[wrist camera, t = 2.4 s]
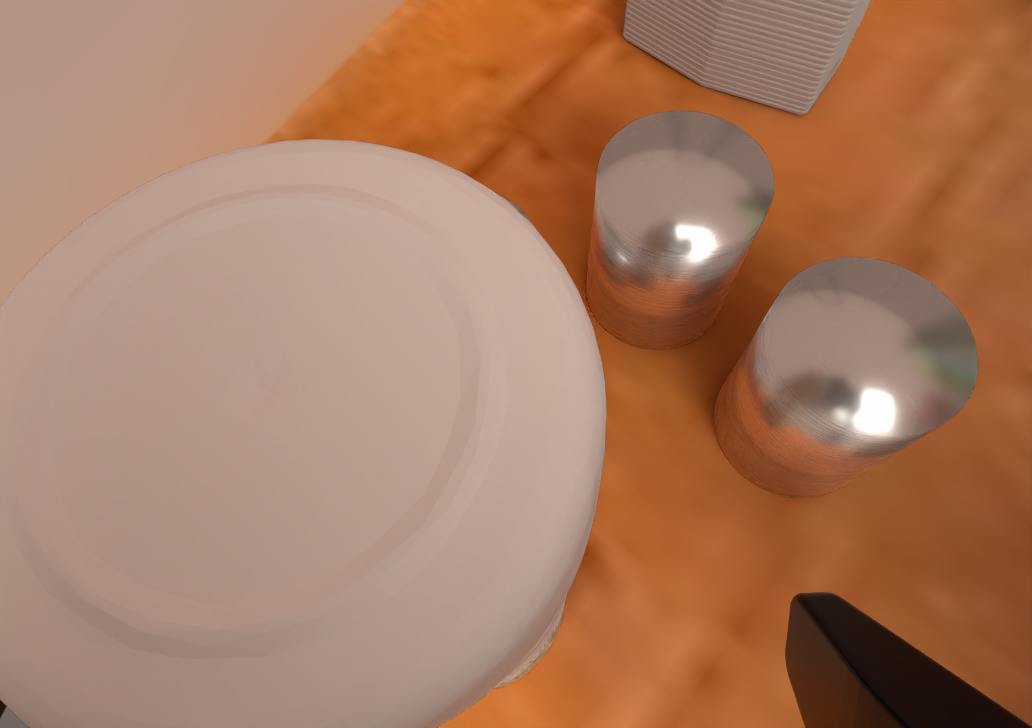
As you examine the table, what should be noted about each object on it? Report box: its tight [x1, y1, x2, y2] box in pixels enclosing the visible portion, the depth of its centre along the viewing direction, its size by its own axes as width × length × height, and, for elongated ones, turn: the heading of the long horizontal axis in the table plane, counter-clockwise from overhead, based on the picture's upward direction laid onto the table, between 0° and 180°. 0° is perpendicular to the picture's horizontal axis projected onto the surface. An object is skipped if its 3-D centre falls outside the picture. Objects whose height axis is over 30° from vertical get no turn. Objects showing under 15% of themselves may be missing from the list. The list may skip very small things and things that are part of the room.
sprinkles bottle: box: [0, 139, 606, 728], centre depth 10 cm, size 5×5×13 cm
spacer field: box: [496, 111, 978, 498], centre depth 17 cm, size 12×18×5 cm
